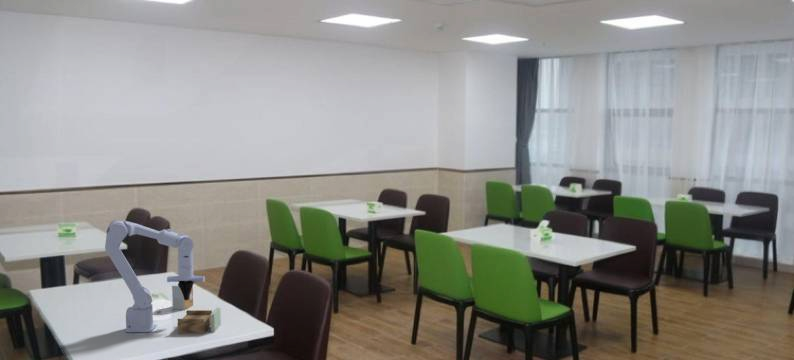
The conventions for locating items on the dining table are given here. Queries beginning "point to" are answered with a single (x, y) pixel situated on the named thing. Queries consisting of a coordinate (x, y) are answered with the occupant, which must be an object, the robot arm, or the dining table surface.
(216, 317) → the cover plate
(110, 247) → the robot arm
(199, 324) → the walnut box
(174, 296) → the small box
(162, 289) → the dining table surface
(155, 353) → the dining table surface
